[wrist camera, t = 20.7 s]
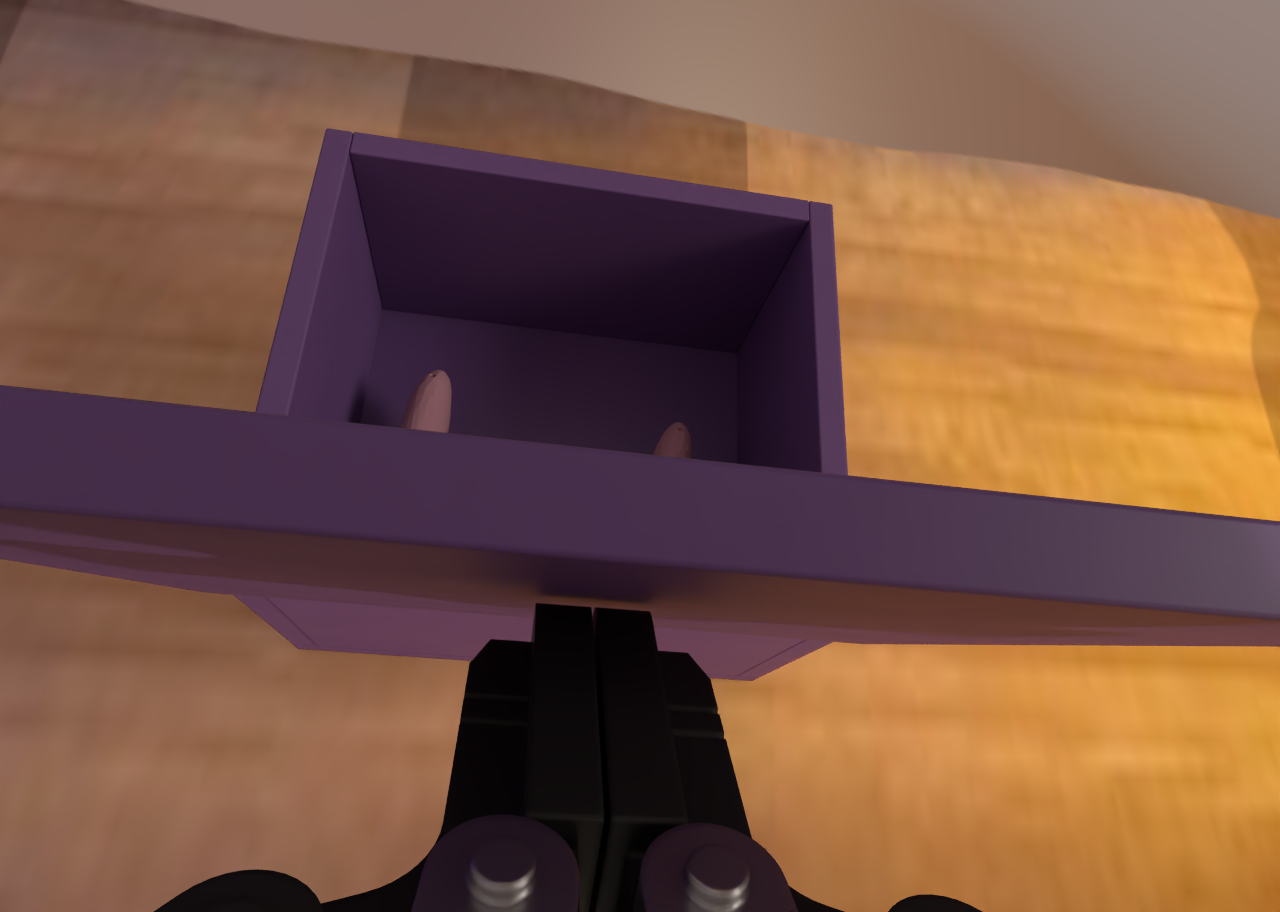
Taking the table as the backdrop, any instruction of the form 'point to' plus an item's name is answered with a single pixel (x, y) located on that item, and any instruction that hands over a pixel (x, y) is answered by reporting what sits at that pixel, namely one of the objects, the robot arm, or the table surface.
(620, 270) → the box
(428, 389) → the video game controller
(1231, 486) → the table surface
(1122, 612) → the lid
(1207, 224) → the table surface
